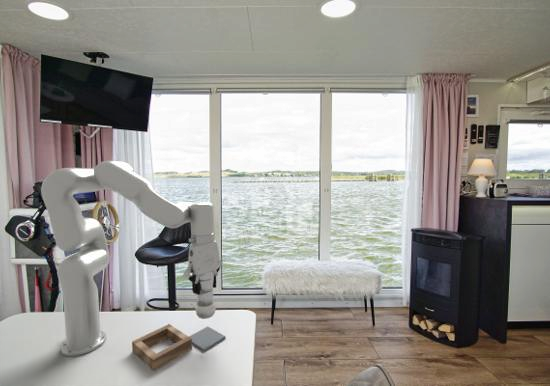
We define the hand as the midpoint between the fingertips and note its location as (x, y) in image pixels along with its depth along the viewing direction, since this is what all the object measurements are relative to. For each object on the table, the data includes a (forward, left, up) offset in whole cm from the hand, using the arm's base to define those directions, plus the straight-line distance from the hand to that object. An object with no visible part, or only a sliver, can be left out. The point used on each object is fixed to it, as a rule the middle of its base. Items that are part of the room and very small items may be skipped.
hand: (204, 289), depth 93 cm
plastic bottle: (0, 0, -10) cm, 10 cm away
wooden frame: (-7, -13, -18) cm, 23 cm away
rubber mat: (0, 0, -18) cm, 18 cm away
